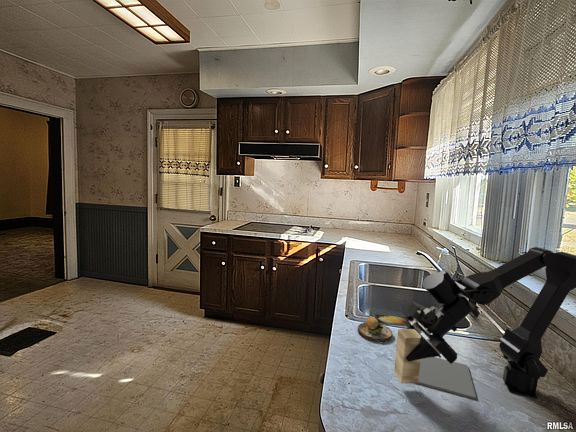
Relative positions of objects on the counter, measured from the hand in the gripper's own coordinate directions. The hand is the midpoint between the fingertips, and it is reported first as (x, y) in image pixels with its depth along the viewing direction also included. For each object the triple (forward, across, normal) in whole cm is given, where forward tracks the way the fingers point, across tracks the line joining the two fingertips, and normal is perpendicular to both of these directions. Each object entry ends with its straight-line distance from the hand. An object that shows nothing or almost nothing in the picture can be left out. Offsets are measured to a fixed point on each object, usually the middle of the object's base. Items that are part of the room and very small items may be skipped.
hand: (402, 354), depth 81 cm
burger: (+5, -28, +9) cm, 30 cm away
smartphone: (-3, -38, +18) cm, 42 cm away
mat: (-3, -6, +16) cm, 18 cm away
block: (+4, 0, +6) cm, 7 cm away
